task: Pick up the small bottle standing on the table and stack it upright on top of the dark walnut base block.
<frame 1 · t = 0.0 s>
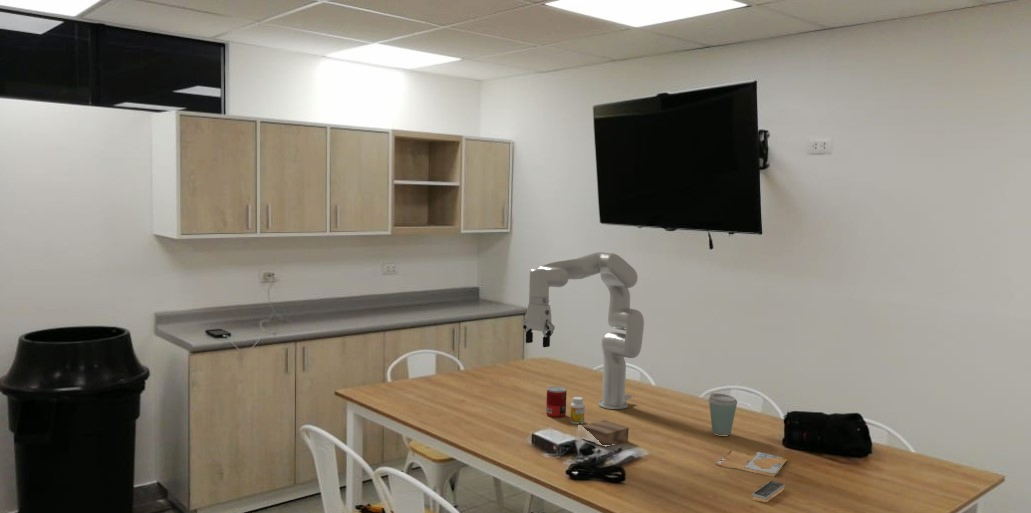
hand: (537, 344, 301), 31 cm above the table, tool pointing down, fingers open, 9 cm apart
walnut base: (604, 440, 286), on the table
snack bag: (751, 465, 265), on the table
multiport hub: (768, 496, 237), on the table
disposable coffee cup: (721, 435, 296), on the table
canned food: (555, 415, 317), on the table
supplement bottle: (577, 422, 308), on the table
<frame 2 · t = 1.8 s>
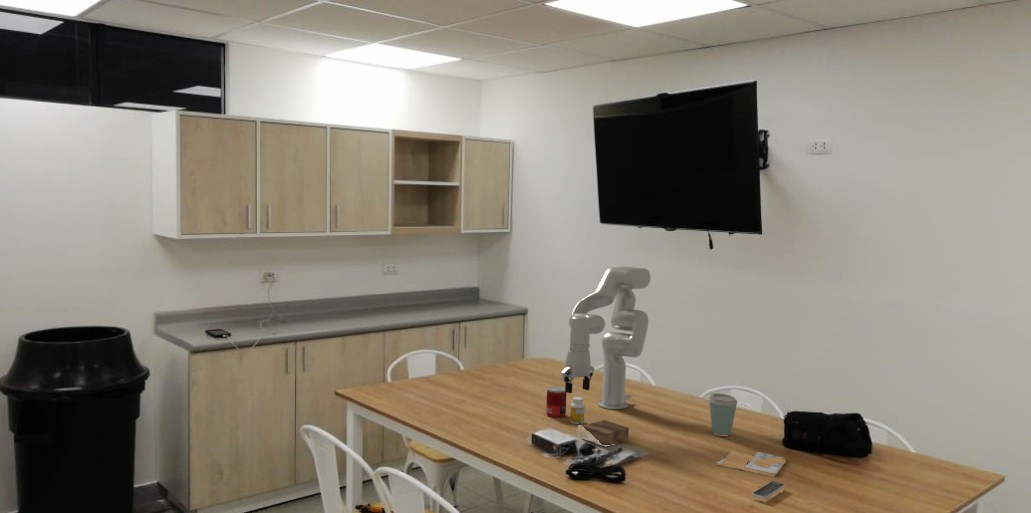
hand: (577, 391, 306), 13 cm above the table, tool pointing down, fingers open, 9 cm apart
nothing on the table moved.
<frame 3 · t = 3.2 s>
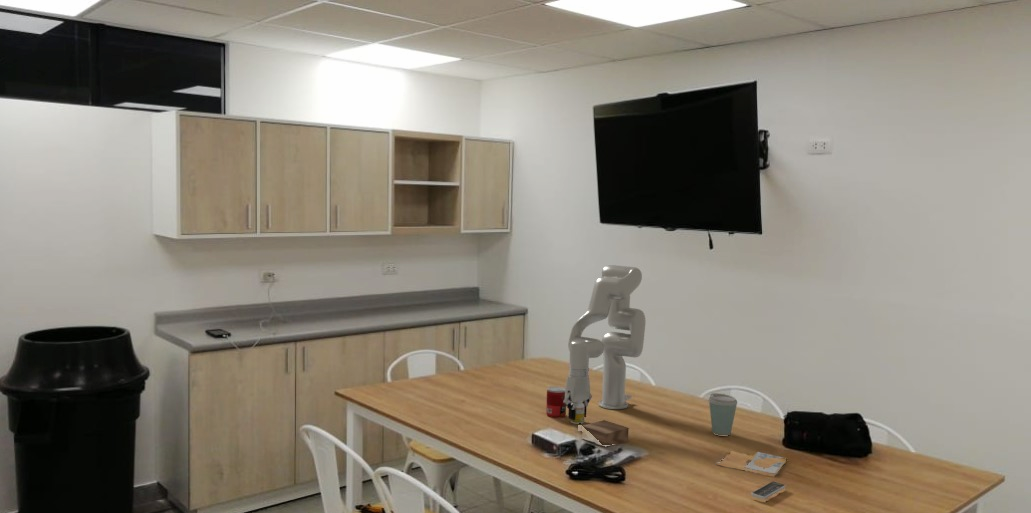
hand: (577, 417, 308), 2 cm above the table, tool pointing down, fingers closed on supplement bottle, 5 cm apart
supplement bottle: (577, 422, 308), on the table, touching gripper
everything else where it was.
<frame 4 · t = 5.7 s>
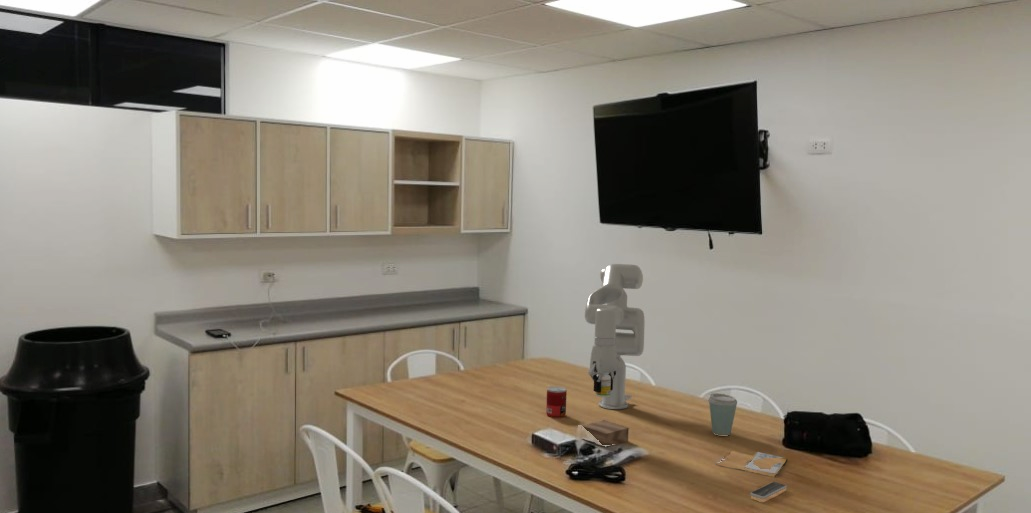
hand: (603, 390, 287), 18 cm above the table, tool pointing down, fingers closed on supplement bottle, 5 cm apart
supplement bottle: (602, 396, 287), point 16 cm above the table, touching gripper
everything else where it was.
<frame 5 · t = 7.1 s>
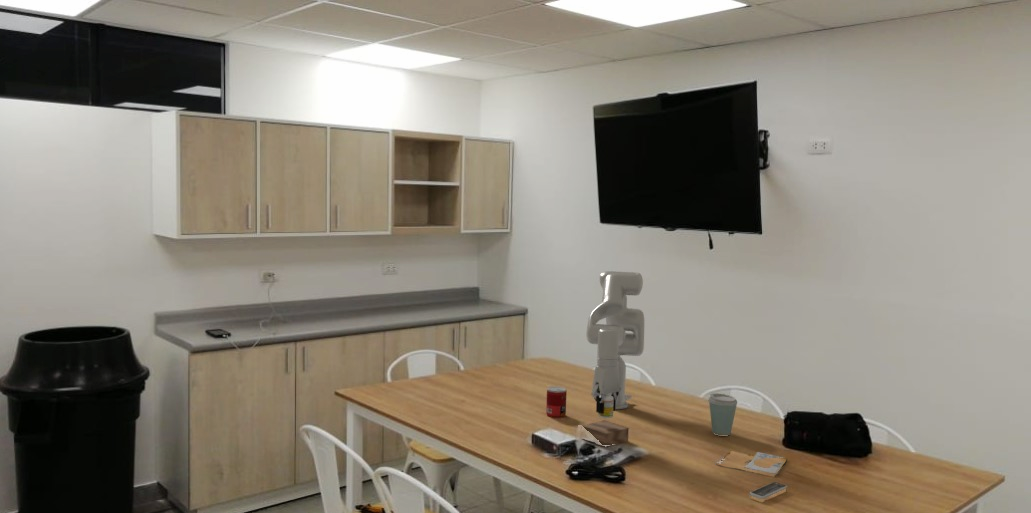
hand: (605, 411, 285), 11 cm above the table, tool pointing down, fingers closed on supplement bottle, 5 cm apart
supplement bottle: (605, 416, 285), point 9 cm above the table, touching gripper
everything else where it was.
when the fingers open (8 cm above the table, at t = 8.0 s): supplement bottle drops 1 cm, resting on walnut base.
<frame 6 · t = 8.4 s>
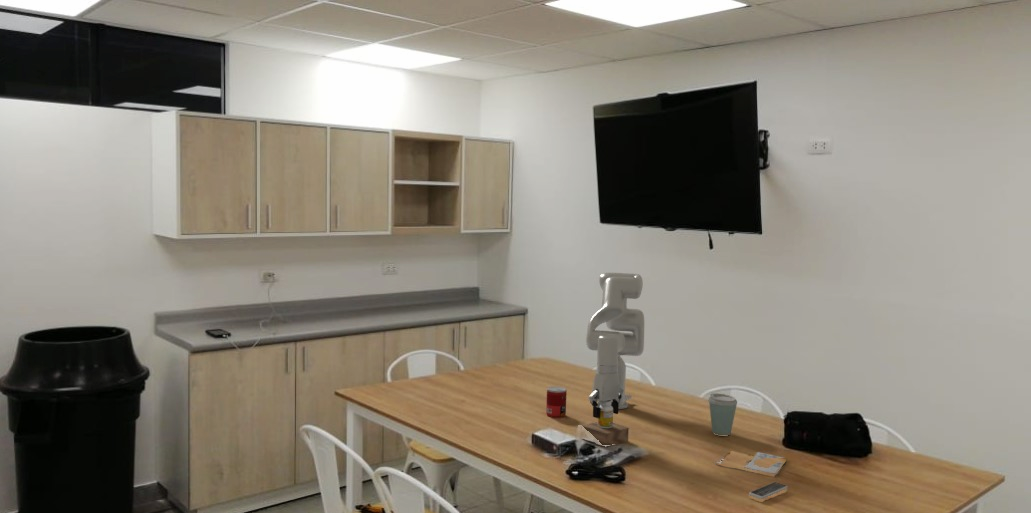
hand: (605, 415, 285), 9 cm above the table, tool pointing down, fingers open, 9 cm apart
supplement bottle: (605, 427, 286), point 5 cm above the table, touching walnut base
everything else where it was.
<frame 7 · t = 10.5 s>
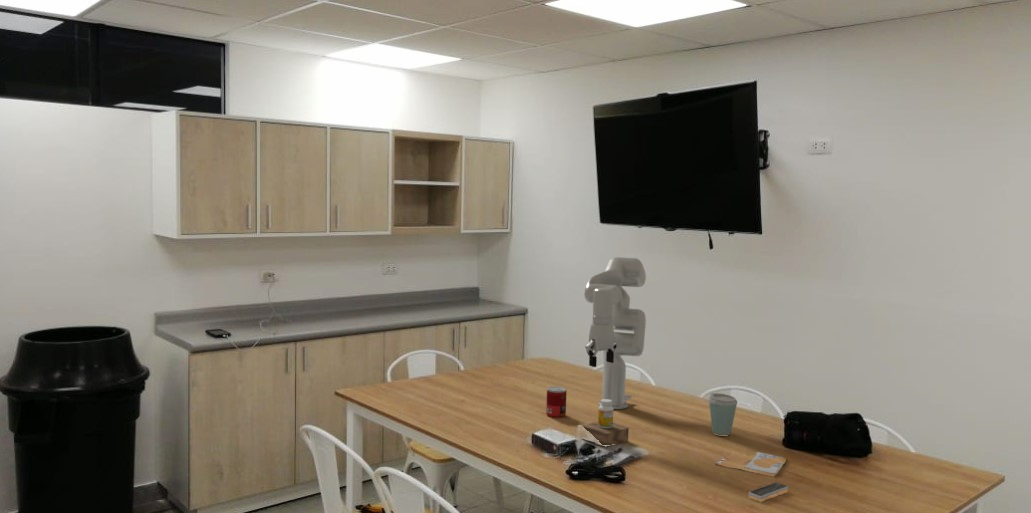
hand: (601, 364, 299), 25 cm above the table, tool pointing down, fingers open, 9 cm apart
nothing on the table moved.
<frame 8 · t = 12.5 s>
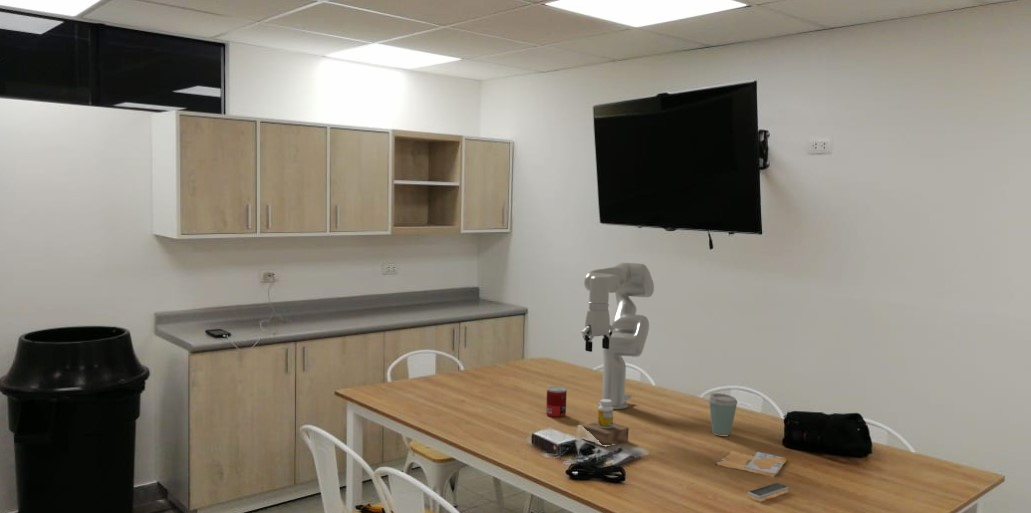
hand: (597, 349, 309), 28 cm above the table, tool pointing down, fingers open, 9 cm apart
nothing on the table moved.
at the end: supplement bottle inside the target area on the walnut base (0.3 cm from its centre), point 4.8 cm above the walnut base's base; supplement bottle tilted 1°; the gripper is holding nothing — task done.
